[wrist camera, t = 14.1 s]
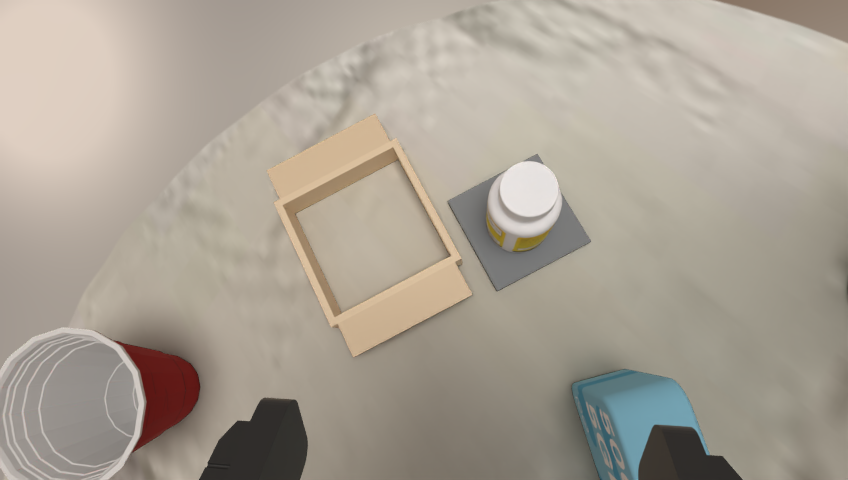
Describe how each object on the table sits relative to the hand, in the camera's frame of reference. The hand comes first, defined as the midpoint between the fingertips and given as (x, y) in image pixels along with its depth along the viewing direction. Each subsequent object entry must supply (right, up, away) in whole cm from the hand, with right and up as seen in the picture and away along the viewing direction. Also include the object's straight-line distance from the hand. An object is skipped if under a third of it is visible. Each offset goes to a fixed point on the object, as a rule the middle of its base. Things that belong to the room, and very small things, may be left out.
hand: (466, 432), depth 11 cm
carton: (-6, +5, +33) cm, 34 cm away
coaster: (+7, +6, +32) cm, 33 cm away
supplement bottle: (+7, +6, +31) cm, 33 cm away
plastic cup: (-23, -9, +32) cm, 41 cm away
